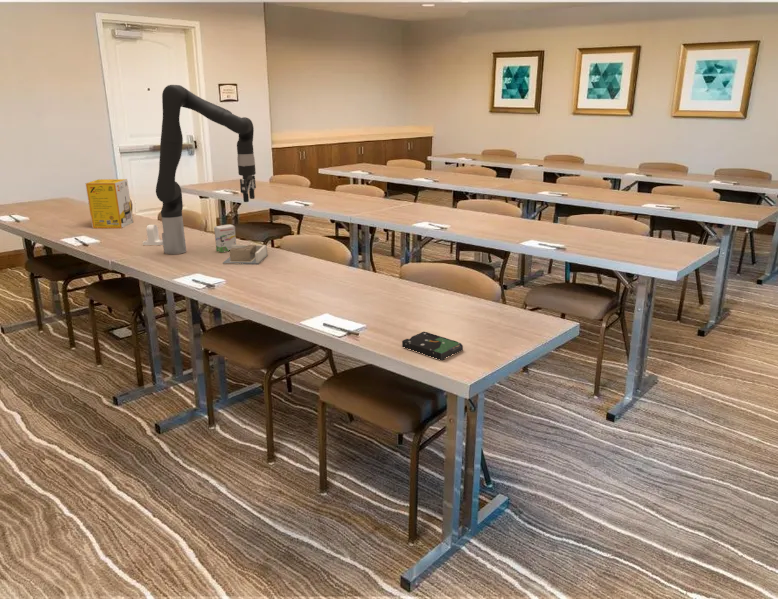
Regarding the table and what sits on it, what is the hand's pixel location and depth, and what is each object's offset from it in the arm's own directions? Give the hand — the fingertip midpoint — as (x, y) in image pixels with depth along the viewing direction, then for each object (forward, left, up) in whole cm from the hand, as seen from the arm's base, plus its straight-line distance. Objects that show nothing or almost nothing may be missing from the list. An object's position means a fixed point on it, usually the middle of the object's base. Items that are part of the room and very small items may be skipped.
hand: (249, 200), depth 283 cm
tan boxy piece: (-1, -13, -24) cm, 27 cm away
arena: (0, -13, -25) cm, 28 cm away
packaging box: (-98, +60, -25) cm, 118 cm away
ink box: (-14, +4, -25) cm, 29 cm away
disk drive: (+84, -110, -25) cm, 140 cm away
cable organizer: (-54, +15, -25) cm, 61 cm away
